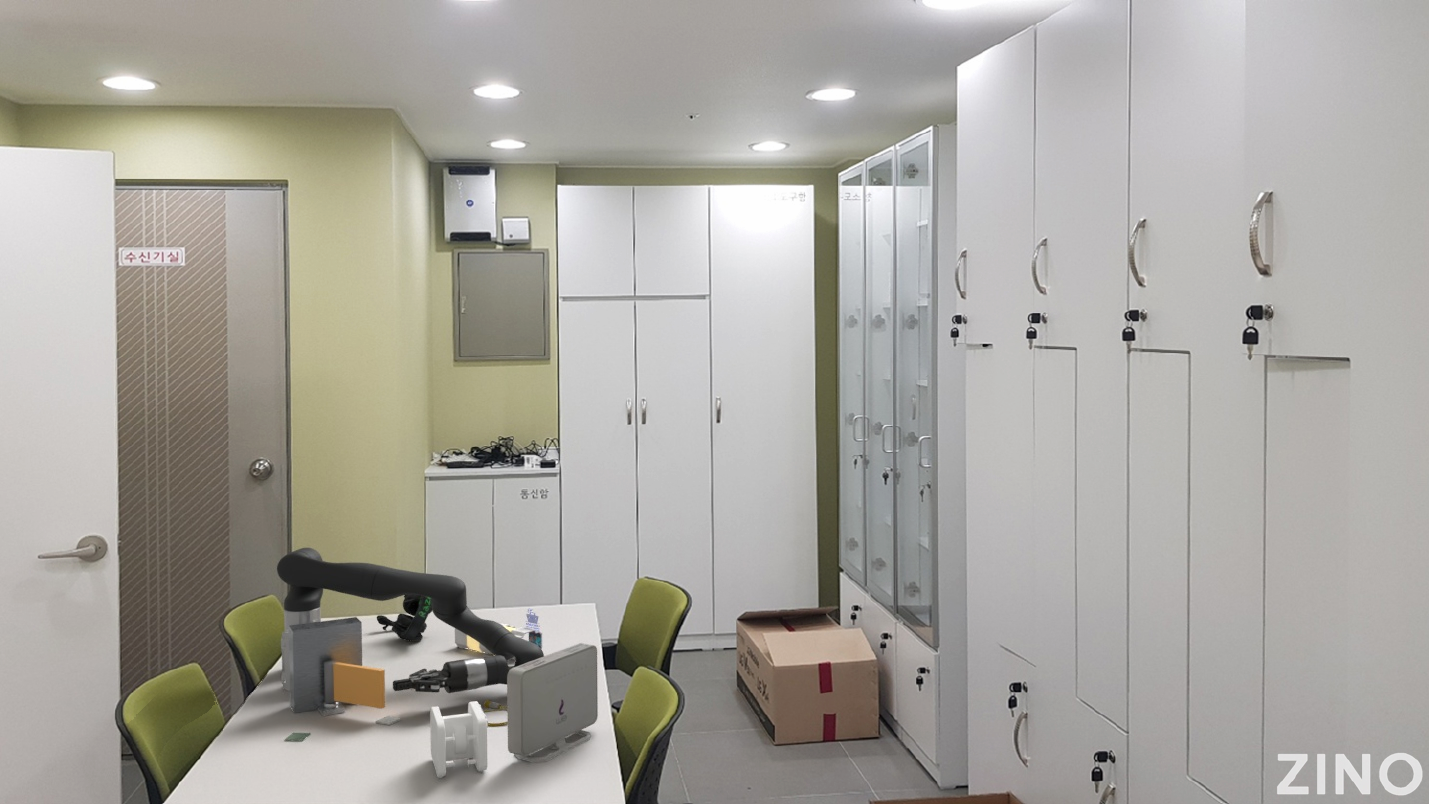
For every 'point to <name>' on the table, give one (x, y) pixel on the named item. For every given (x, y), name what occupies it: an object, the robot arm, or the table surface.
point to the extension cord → (495, 706)
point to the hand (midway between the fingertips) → (393, 686)
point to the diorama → (534, 636)
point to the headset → (410, 618)
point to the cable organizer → (458, 738)
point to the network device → (552, 701)
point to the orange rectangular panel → (354, 684)
